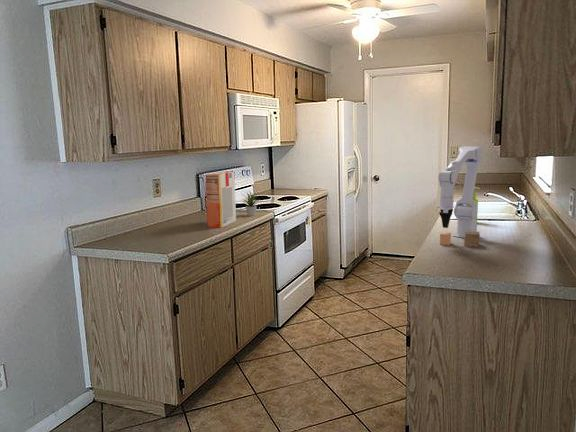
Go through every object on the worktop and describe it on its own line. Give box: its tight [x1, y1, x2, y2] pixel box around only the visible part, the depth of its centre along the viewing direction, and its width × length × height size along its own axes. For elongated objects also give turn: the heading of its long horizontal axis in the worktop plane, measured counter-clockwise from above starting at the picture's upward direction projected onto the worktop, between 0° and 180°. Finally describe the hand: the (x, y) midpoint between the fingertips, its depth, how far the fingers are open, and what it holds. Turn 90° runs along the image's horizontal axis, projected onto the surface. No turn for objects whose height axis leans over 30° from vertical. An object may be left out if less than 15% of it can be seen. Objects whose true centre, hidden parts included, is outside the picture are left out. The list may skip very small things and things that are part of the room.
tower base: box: [463, 238, 480, 248], centre depth 220 cm, size 6×6×3 cm
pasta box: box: [204, 170, 237, 229], centre depth 282 cm, size 23×8×30 cm, turn 164°
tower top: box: [464, 231, 481, 242], centre depth 220 cm, size 6×6×3 cm
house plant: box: [242, 191, 263, 217], centre depth 310 cm, size 14×14×16 cm
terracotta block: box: [439, 231, 452, 246], centre depth 223 cm, size 4×4×5 cm
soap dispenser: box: [468, 186, 481, 223], centre depth 272 cm, size 6×7×20 cm
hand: (445, 226), depth 222 cm, fingers open, 7 cm apart
